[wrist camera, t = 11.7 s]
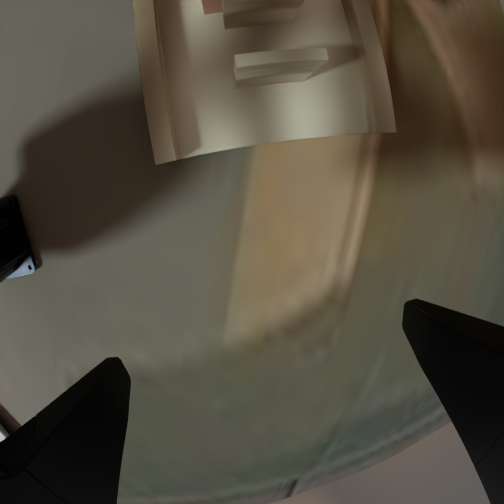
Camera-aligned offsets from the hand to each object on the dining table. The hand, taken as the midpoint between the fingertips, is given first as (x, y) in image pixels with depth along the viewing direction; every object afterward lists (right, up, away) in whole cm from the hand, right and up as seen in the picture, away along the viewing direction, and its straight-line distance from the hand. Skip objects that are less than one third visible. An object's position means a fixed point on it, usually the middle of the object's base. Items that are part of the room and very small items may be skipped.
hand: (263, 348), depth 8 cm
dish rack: (0, +19, +6) cm, 20 cm away
